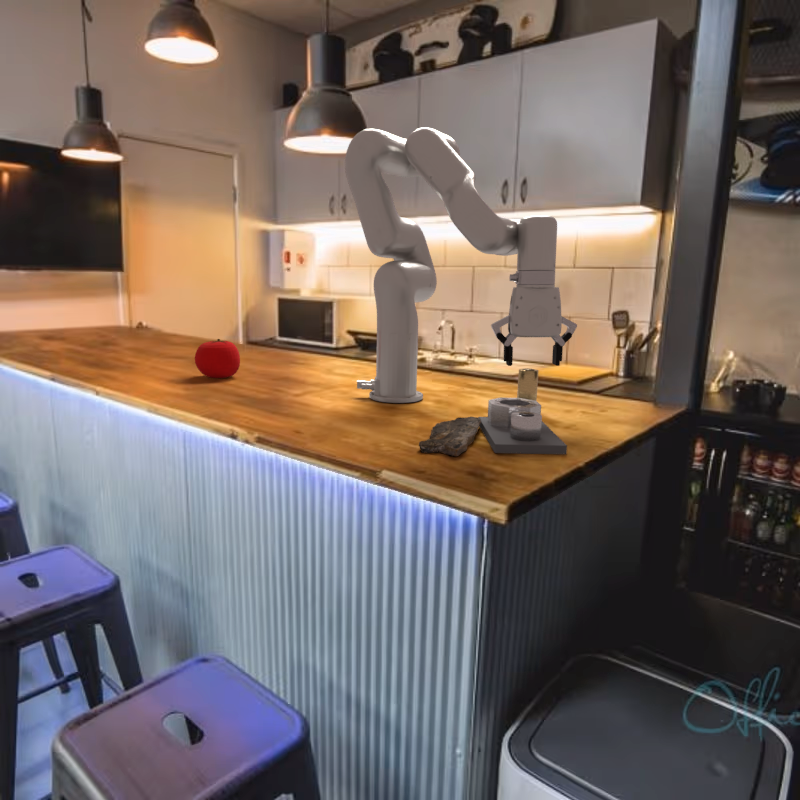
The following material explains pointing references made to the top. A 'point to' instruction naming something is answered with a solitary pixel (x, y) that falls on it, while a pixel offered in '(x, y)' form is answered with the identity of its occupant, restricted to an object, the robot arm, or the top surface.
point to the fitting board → (506, 444)
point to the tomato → (217, 359)
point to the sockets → (516, 417)
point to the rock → (451, 436)
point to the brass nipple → (527, 384)
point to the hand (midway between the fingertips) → (532, 364)
